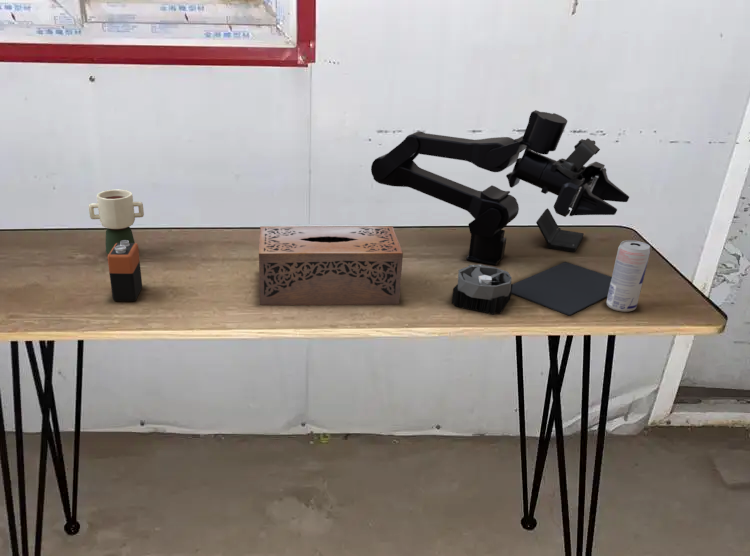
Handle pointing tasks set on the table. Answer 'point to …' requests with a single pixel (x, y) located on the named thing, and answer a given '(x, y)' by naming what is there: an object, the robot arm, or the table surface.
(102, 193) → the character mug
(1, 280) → the table surface
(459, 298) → the cpu cooler
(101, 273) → the table surface
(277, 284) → the tissue box cover
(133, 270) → the battery
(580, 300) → the mouse pad
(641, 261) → the energy drink
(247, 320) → the table surface
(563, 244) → the handheld gaming console
